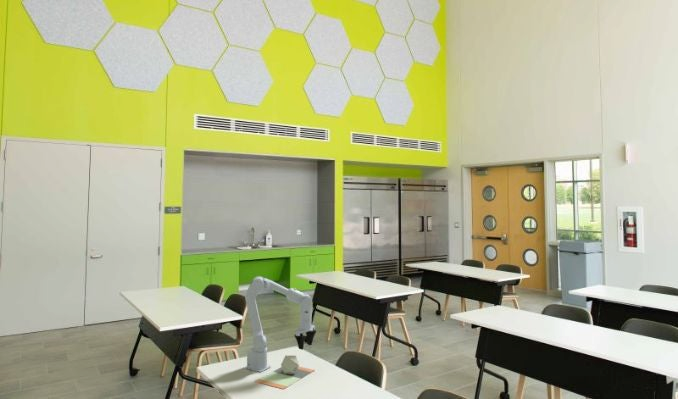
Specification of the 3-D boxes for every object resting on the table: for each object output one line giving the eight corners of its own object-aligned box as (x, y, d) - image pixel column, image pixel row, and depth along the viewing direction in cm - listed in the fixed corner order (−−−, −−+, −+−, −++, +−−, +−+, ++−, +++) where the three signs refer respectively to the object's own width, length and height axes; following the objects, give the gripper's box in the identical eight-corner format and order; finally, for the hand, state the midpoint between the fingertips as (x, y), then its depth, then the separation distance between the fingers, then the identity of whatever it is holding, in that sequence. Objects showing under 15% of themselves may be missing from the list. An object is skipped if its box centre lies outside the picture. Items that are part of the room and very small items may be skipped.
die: (291, 379, 189) (303, 360, 192) (275, 368, 190) (287, 350, 194) (292, 379, 196) (304, 360, 199) (277, 368, 198) (289, 350, 201)
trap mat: (254, 381, 185) (254, 381, 185) (287, 364, 206) (287, 363, 206) (283, 389, 177) (283, 388, 177) (314, 370, 199) (314, 370, 199)
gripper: (304, 323, 197) (303, 352, 196) (320, 317, 209) (319, 344, 209) (292, 321, 200) (291, 349, 200) (308, 315, 213) (308, 342, 212)
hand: (305, 346), depth 205 cm, fingers open, 7 cm apart
